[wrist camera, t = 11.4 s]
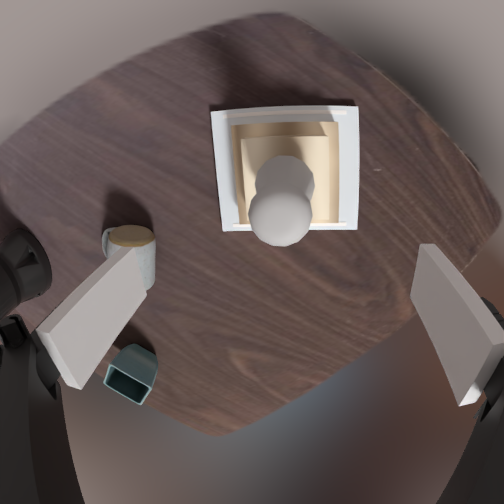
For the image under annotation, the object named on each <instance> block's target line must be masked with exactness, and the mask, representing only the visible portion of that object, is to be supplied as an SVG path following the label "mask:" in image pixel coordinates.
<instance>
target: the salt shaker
mask: <svg viewBox="0 0 504 504" xmlns="http://www.w3.org/2000/svg"><path fill="white" fill-rule="evenodd" d="M255 188H256V195H255V196H254V197H253V198H252V200H251V203H250V207H249V211H248V217H249V221H250V225H251V229H252V230H253V231H254V233H255V234H256V235H257V236H258V238H259V239H260V240H262V241H264V242H266V243H268V244H270V245H272V246H288V245H290V244H293V243H296V242H298V241H299V240H300V239H301V238H302V237H303V236H304V235H305V234H306V233H307V232H308V230H309V227H310V223H311V220H312V217H313V215H312V209H311V203H310V201H311V199H312V196H313V192H314V188H315V183H314V177H313V173H312V171H311V170H310V169H309V167H308V166H307V165H306V164H305V162H303V161H301V160H299V159H297V158H296V157H294V156H281V155H278V156H276V157H274V158H271V159H269V160H267V161H266V162H265V163H264V164H263V165H262V166H261V168H260V169H259V170H258V171H257V176H256V180H255Z"/></svg>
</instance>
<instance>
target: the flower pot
mask: <svg viewBox="0 0 504 504" xmlns="http://www.w3.org/2000/svg"><path fill="white" fill-rule="evenodd" d="M157 370H158V361H157V357H156V355H154V354H153V353H151V352H149V351H147V350H146V349H144V348H142V347H141V346H139V345H137V344H131V345H128V346H126V347H125V348H123V349H122V350H121V351H120V352H119V353H118V354H117V356H116V357H115V358H114V359H113V360H112V362H111V363H110V364H109V366H108V370H107V373H106V376H105V379H104V384H105V385H106V386H108V387H109V388H111V389H113V390H115V391H116V392H118V393H120V394H121V395H123V396H125V397H126V398H128V399H130V400H132V401H134V402H135V403H137V404H139V405H141V404H142V403H143V402H144V400H145V398H146V397H147V395H148V394H149V392H150V391H151V389H152V386H153V383H154V380H155V377H156V374H157Z"/></svg>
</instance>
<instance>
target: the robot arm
mask: <svg viewBox="0 0 504 504" xmlns="http://www.w3.org/2000/svg"><path fill="white" fill-rule="evenodd" d="M51 282H52V272H51V267H50V263H49V260H48V258H47V256H46V253H45V251H44V250H43V248H42V246H41V245H40V243H39V242H38V241H37V240H36V238H35V237H34V236H33V235H32V234H30V233H29V232H27V231H26V230H23V229H16V230H14V231H12V232H11V233H9V234H8V235H7V236H6V237H5V238H4V240H3V242H2V243H1V244H0V340H1V342H2V343H3V345H0V504H85V502H84V500H83V496H82V493H81V490H80V486H79V483H78V479H77V475H76V472H75V468H74V464H73V460H72V455H71V450H70V446H69V441H68V435H67V430H66V424H65V418H64V411H63V404H62V396H61V387H60V384H59V382H58V381H57V379H58V378H59V376H60V375H61V376H62V377H63V379H64V381H65V382H66V384H67V385H69V386H71V387H74V388H77V389H80V390H81V389H82V388H83V387H84V385H85V384H86V382H87V380H88V379H89V377H90V376H91V374H92V373H93V371H94V370H95V368H96V367H97V365H98V364H99V362H100V361H101V359H102V358H103V357H104V355H105V354H106V352H107V351H108V349H109V348H110V346H111V345H112V343H113V342H114V341H115V339H116V338H117V336H118V335H119V333H120V332H121V331H122V329H123V328H124V326H125V325H126V324H127V322H128V321H129V319H130V318H131V317H132V315H133V314H134V312H135V311H136V310H137V308H138V307H139V305H140V304H141V303H142V301H143V300H144V299H145V297H146V296H147V294H146V291H145V287H144V284H143V280H142V276H141V272H140V268H139V265H138V261H137V257H136V252H135V248H134V247H121V248H120V249H119V250H118V251H116V252H115V253H114V254H113V255H112V256H111V257H110V258H109V259H107V260H106V261H105V262H104V263H103V264H102V265H101V266H100V267H99V268H98V269H96V270H95V271H94V272H93V273H92V274H91V275H90V276H89V277H88V278H87V279H86V280H85V281H84V282H83V283H81V284H80V285H79V286H78V287H77V288H76V289H75V290H74V291H73V292H72V293H71V294H70V295H69V296H68V297H67V298H66V299H65V300H63V301H62V302H61V303H60V304H59V305H58V306H57V307H56V308H55V310H53V311H52V312H51V313H50V314H49V316H47V317H46V318H45V319H44V320H43V321H42V322H41V323H40V324H39V325H38V326H37V327H36V329H35V330H34V331H33V332H32V333H31V334H30V333H29V331H28V329H27V328H26V325H25V323H24V321H23V319H22V317H21V316H20V315H18V314H13V315H9V314H10V313H11V312H12V311H13V310H14V309H15V308H16V307H17V306H18V305H19V304H20V303H22V302H25V301H27V300H30V299H33V298H35V297H39V296H41V295H42V294H44V293H45V292H46V291H47V290H48V289H49V288H50V286H51ZM410 298H411V300H412V302H413V304H414V306H415V308H416V310H417V312H418V314H419V316H420V318H421V320H422V321H423V324H424V326H425V328H426V330H427V332H428V334H429V336H430V338H431V341H432V343H433V345H434V347H435V350H436V352H437V354H438V356H439V358H440V361H441V363H442V366H443V368H444V370H445V373H446V375H447V378H448V380H449V383H450V385H451V388H452V390H453V393H454V395H455V398H456V400H457V403H458V406H462V405H466V404H470V403H474V402H476V401H477V400H478V398H479V396H480V395H481V393H482V392H483V390H484V392H485V394H486V397H487V399H486V400H485V402H484V403H483V404H482V406H481V407H480V409H479V410H478V411H477V413H476V414H475V416H474V417H473V418H475V419H476V418H477V416H478V415H479V416H478V419H477V422H476V424H475V427H474V429H473V432H472V434H471V437H470V439H469V441H468V444H467V446H466V448H465V450H464V452H463V455H462V457H461V459H460V461H459V463H458V465H457V467H456V469H455V471H454V473H453V475H452V477H451V478H450V480H449V482H448V484H447V486H446V488H445V489H444V491H443V493H442V494H441V496H440V498H439V500H438V501H437V503H436V504H504V318H503V317H502V316H501V314H499V312H498V311H497V309H496V308H495V307H494V305H493V304H492V303H490V302H489V301H488V300H486V299H485V298H483V297H479V296H478V295H477V293H476V292H475V291H474V290H473V288H472V287H471V286H470V285H469V283H468V282H467V281H466V280H465V278H464V277H463V276H462V275H461V274H460V272H459V271H458V270H457V269H456V268H455V267H454V265H453V264H452V263H451V262H450V261H449V260H448V258H447V257H446V256H445V255H444V254H443V253H442V252H441V251H440V250H439V248H438V247H437V246H436V245H435V244H420V247H419V253H418V259H417V264H416V270H415V275H414V280H413V284H412V289H411V294H410ZM7 315H9V316H7Z"/></svg>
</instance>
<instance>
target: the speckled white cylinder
mask: <svg viewBox="0 0 504 504" xmlns="http://www.w3.org/2000/svg"><path fill="white" fill-rule="evenodd" d="M102 246H103V251H104V254H105V256H106V258H107V259H109V258H110V257H111V256H112V255H113V254H114V253H115V252H116V251H118V250H119V249H120V248H121V247H134V248H135V252H136V257H137V261H138V265H139V268H140V272H141V276H142V280H143V284H144V287H145V291H146V290H148V289H149V288H151V287H152V286H153V284H154V282H155V251H156V243H155V236H154V234H153V232H152V231H151V230H149V229H148V228H146V227H143V226H139V225H123V226H120V227H117V228H116V227H113V228H109V229H106V230H105V231H104V233H103V236H102Z"/></svg>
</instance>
